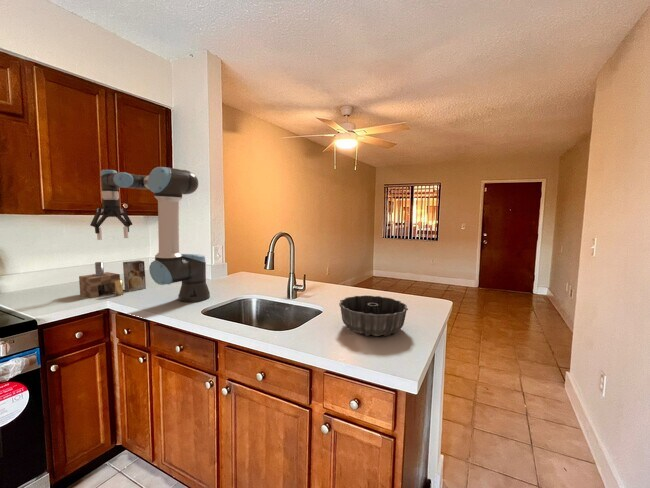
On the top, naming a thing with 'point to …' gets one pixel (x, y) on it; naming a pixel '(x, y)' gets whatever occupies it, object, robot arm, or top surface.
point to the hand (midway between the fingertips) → (113, 239)
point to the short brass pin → (118, 287)
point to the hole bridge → (97, 283)
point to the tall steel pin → (100, 272)
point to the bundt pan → (373, 314)
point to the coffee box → (134, 275)
